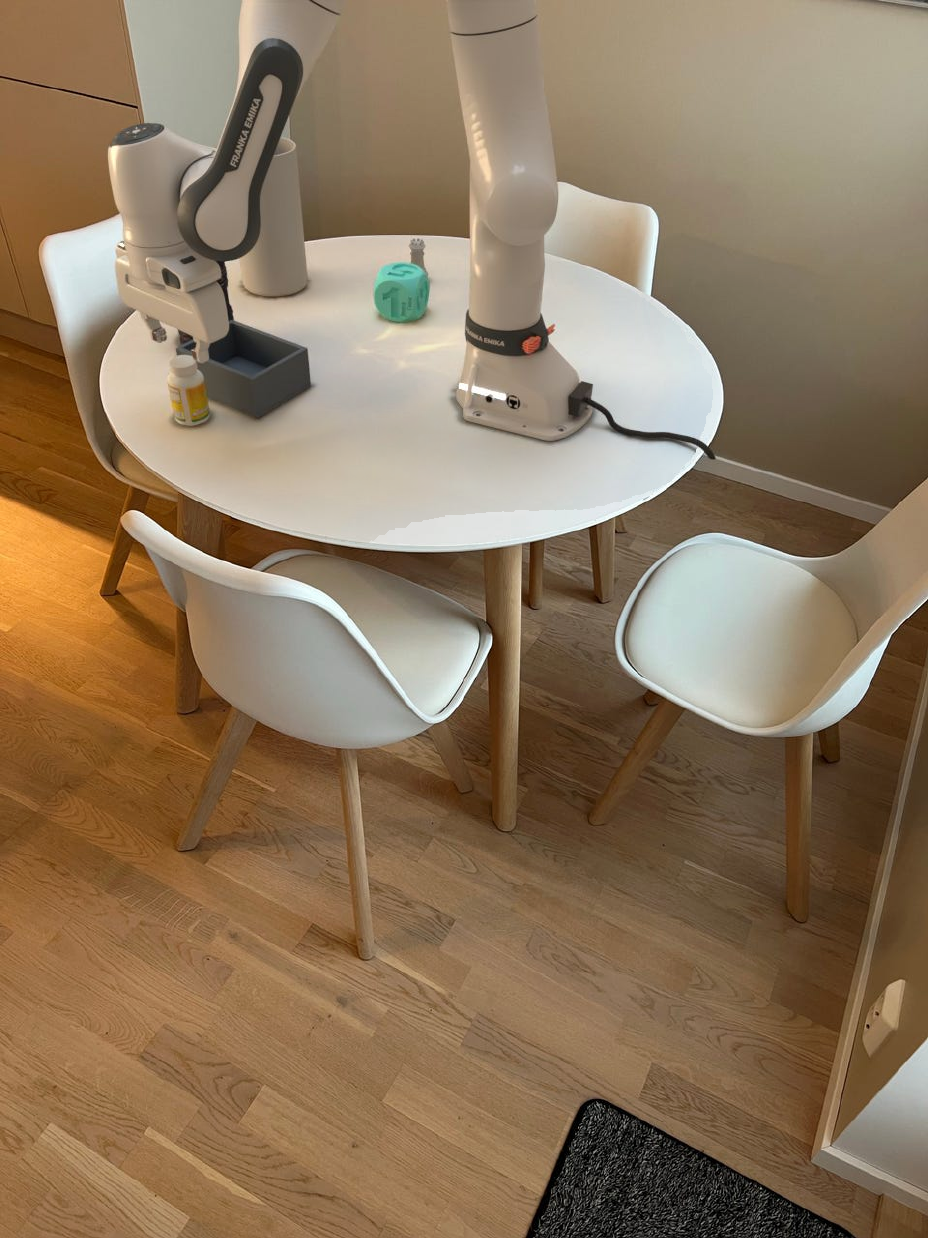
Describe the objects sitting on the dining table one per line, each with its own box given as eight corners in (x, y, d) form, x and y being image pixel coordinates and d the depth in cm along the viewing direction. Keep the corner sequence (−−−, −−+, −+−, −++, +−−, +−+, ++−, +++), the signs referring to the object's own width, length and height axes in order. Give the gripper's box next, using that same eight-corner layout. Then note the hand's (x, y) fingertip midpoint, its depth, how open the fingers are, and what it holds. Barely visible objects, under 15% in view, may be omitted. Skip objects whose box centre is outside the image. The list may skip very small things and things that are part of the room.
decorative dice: (374, 318, 171) (372, 275, 165) (390, 300, 176) (389, 258, 171) (414, 325, 169) (414, 283, 164) (429, 307, 175) (430, 265, 169)
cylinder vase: (230, 281, 180) (210, 143, 163) (284, 265, 187) (270, 130, 170) (266, 303, 174) (248, 161, 157) (320, 286, 180) (309, 148, 163)
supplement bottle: (171, 426, 142) (159, 369, 136) (179, 408, 146) (167, 351, 139) (207, 426, 142) (196, 370, 136) (213, 408, 146) (203, 352, 140)
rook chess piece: (402, 278, 184) (401, 237, 178) (423, 275, 185) (423, 234, 180) (411, 287, 181) (410, 246, 175) (432, 284, 182) (432, 243, 177)
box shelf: (311, 386, 152) (307, 347, 148) (258, 418, 145) (252, 379, 140) (237, 356, 159) (231, 319, 154) (182, 386, 151) (174, 347, 146)
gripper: (95, 243, 129) (118, 336, 139) (192, 284, 120) (209, 380, 130) (132, 230, 133) (152, 321, 142) (229, 269, 124) (243, 363, 134)
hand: (180, 350), depth 136 cm, fingers open, 8 cm apart
